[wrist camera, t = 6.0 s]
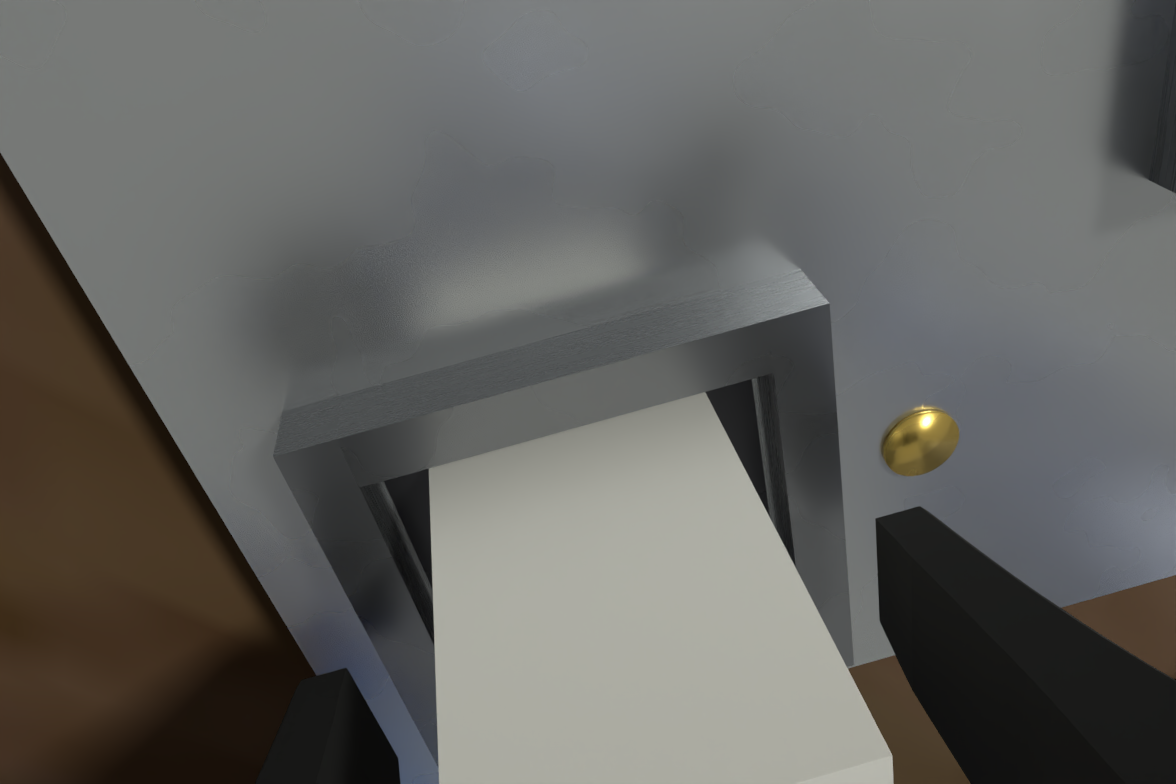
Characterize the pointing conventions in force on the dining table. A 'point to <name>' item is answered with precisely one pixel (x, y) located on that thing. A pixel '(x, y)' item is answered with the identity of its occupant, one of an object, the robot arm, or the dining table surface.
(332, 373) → the switch plate
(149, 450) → the dining table surface
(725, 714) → the plug
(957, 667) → the robot arm
